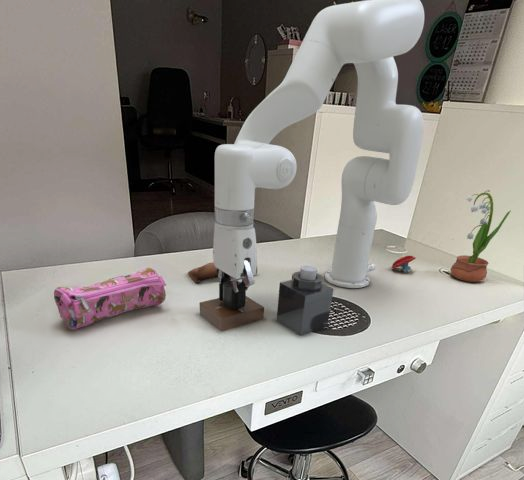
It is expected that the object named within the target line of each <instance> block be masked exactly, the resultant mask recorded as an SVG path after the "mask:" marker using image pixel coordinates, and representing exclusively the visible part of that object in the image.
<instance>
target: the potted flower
mask: <svg viewBox="0 0 524 480" xmlns="http://www.w3.org/2000/svg"><path fill="white" fill-rule="evenodd" d="M490 192H491V191H490V189H489V190H485V191H484V192H481V193H479V194H478V193H474V194H472V195H468V196H467V198H466V199H465V200H466V201H467V202H469V203H471V201H472V200H473V196H476V197H475V199H474V201H473V205H472V206H471V208H470V210H471V213H476V212H478V211H479V210H481V212H480V213H481V214H484V215H485V216H484V217H483V218H481V219H480V221H479V225H477V226H474V228H472V230H471V231H470V232H469V233H467V235H466V239H467V240H473V239H474V240H473V242H472V255H458V256H456V260H455V262H454V263H453V264H452V266H450V267H451V268H450V273H451V275H452V276H453V277H454V278H455V279H457V280H460V281H462V282H463V281H464V282H468V283H469V282H470V283H478V282H482V281H483V280H484V279H486V278H487V274H488V270H487V268H488V265H489V264H490V263H489V261H488V260H486V259H484V258H481V257H479V256H480V254H482V252H483V251H485V249H486V248H487V247H488V245H489V243H490V242H491V240H492V239H493V238H494V237H495V236H496V234H497V233H498V232H499V230H500V229H501V228H502V226H503V224H504V223H505V221H506V220H507V218H508V216H509V215H510V213H511V212H512V210H511V209H510V210H509V211H507V212H506V213H505V215H504V217H503V218H502V220H501V221H500V222H499V223H498V225H497V227H495V229H493V230H492V231H491V232H490V228H491V225H492V220H493V214H494V199H493V196H492V195H491V193H490ZM481 196H483V197H484V196H486V197H485V198H484V199H483V200H482V202H481V203H479V205H475V204H476V202H477V200H478V199H479V198H480V197H481ZM486 199H489V201H486V202H484V201H485V200H486ZM487 219H488V220H487ZM478 227H480V228H479V229H478V231H477V233H476V235H474V233H473V231H475V229H476V228H478ZM474 236H475V237H474Z"/></svg>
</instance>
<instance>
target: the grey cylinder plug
mask: <svg viewBox="0 0 524 480" xmlns="http://www.w3.org/2000/svg"><path fill="white" fill-rule="evenodd" d="M299 271H300V277H299V278H301V279H305V280H315V279H316V275H317V273H318V268H317V267H316V266H313V265H302V266H300V269H299Z"/></svg>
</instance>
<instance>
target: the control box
mask: <svg viewBox="0 0 524 480" xmlns="http://www.w3.org/2000/svg"><path fill="white" fill-rule="evenodd" d="M199 315H200V317H202V318H203V319H204V320H206V321H207V322H208V323H210V324H211V325H212V326H213V327H215V328H216V329H218V330H219V331H220V332H224V331H228V330H231V329H234V328H238V327H242V326H246V325H248V324H252V323H255V322H259V321H262V320H264V318H265V306H264V305H262V304H260V303H258V302H256V301H255V300H253V299H252V298H251V297H249V296H247V295H246V297H245V306H244V307H242V308H238V309H232V308H227V307H225V306H223V301H220V300H219V297H218V298H212V299H208V300H204V301H200V302H199Z"/></svg>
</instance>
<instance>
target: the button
mask: <svg viewBox="0 0 524 480" xmlns="http://www.w3.org/2000/svg"><path fill="white" fill-rule="evenodd" d="M416 259H417V257H415V256H413V255H405V256H402V257H400V258H398V259H396V260H395V261H394V262H393V263H392V266H391V269H396V268H400V267H401V271H402V273H409V271H411V266H410V265H409V263H411V262H413V261H414V260H416Z"/></svg>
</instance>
